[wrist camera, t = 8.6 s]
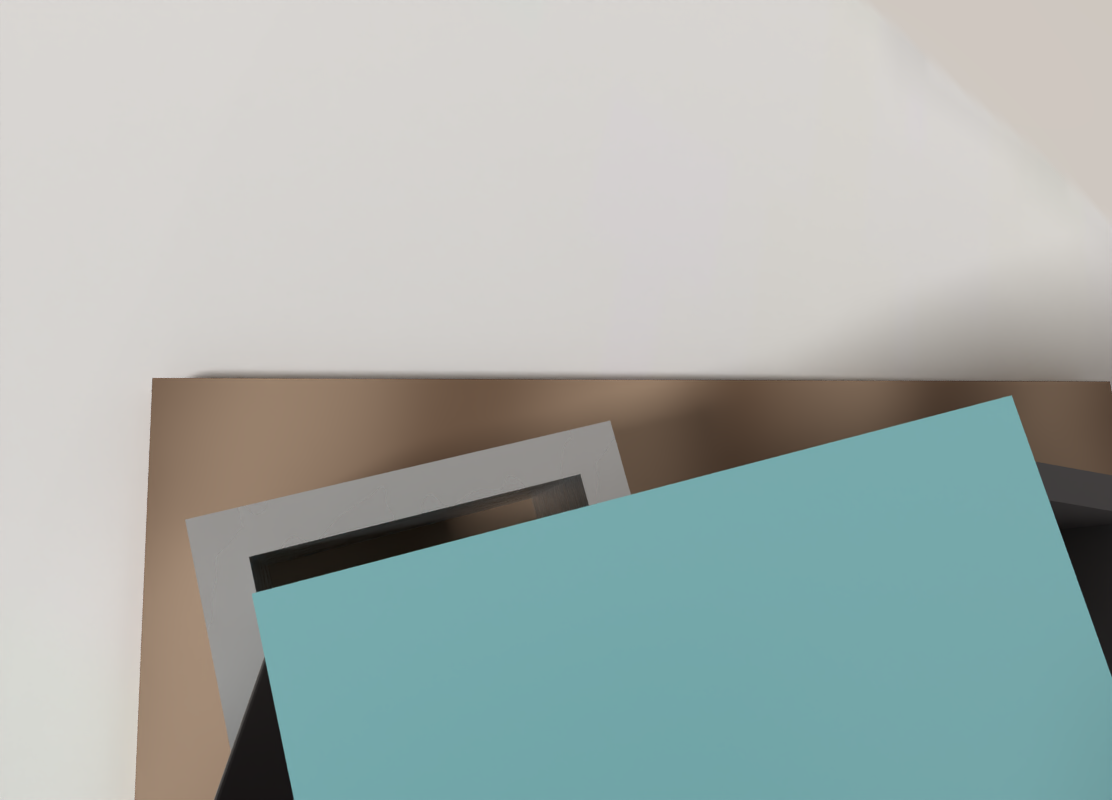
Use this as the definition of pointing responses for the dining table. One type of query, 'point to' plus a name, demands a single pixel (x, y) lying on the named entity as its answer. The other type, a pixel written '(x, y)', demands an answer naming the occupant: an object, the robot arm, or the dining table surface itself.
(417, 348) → the dining table surface
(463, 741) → the plug
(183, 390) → the panel board
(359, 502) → the port
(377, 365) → the dining table surface
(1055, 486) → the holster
